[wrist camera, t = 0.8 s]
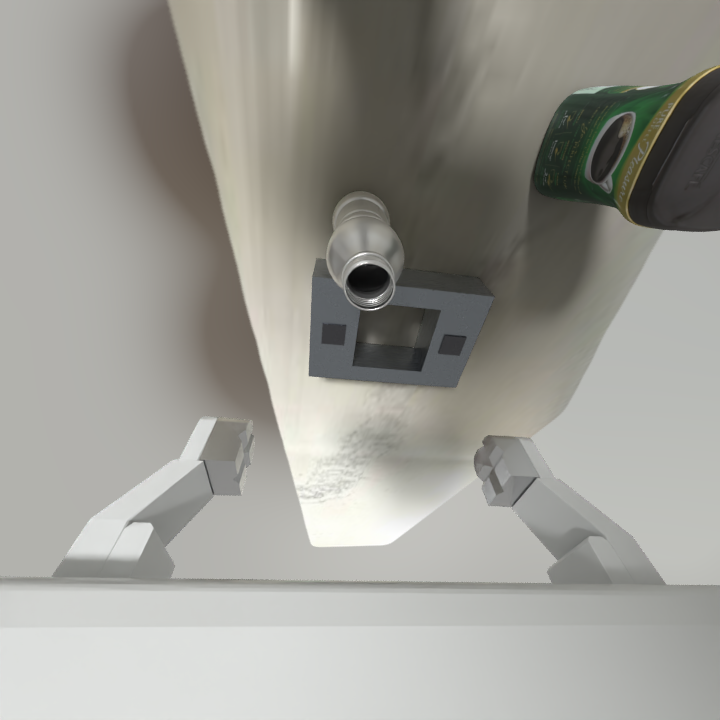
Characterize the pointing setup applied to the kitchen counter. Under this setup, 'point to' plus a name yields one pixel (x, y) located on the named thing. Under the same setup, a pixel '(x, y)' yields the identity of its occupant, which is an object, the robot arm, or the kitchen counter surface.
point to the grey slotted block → (395, 363)
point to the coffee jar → (639, 152)
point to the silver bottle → (364, 251)
